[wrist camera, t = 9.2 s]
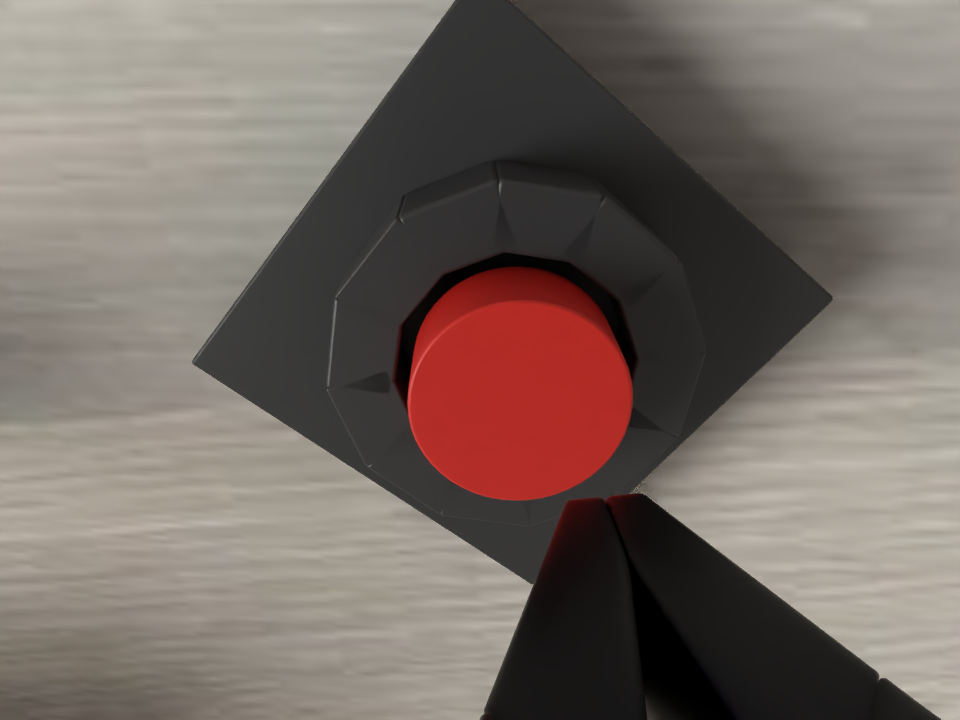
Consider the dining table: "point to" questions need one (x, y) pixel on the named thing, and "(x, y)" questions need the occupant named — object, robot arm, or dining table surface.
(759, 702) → the robot arm
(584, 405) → the power button
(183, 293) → the dining table surface
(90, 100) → the dining table surface
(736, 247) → the switch box
